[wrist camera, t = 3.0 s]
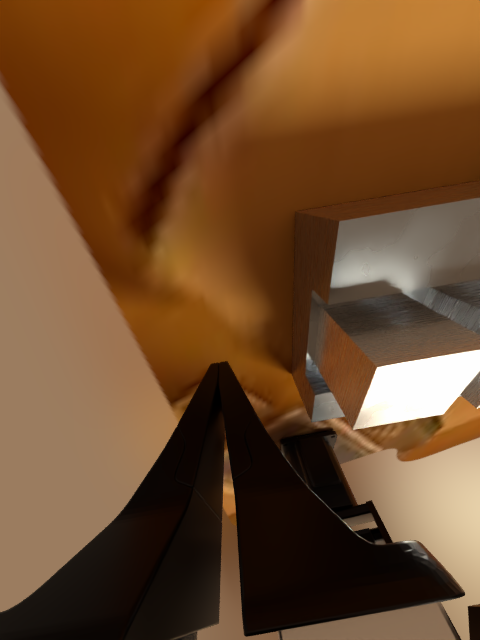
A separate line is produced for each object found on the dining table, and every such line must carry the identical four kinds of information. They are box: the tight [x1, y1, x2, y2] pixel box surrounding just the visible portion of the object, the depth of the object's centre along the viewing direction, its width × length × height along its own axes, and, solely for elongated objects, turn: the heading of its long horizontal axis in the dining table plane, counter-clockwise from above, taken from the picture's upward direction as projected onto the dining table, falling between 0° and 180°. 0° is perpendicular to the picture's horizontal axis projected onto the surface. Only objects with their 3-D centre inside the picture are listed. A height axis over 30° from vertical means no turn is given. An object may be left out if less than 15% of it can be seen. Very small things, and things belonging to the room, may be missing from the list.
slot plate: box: [292, 181, 480, 422], centre depth 11 cm, size 12×12×4 cm
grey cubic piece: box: [314, 292, 480, 430], centre depth 9 cm, size 4×4×4 cm
